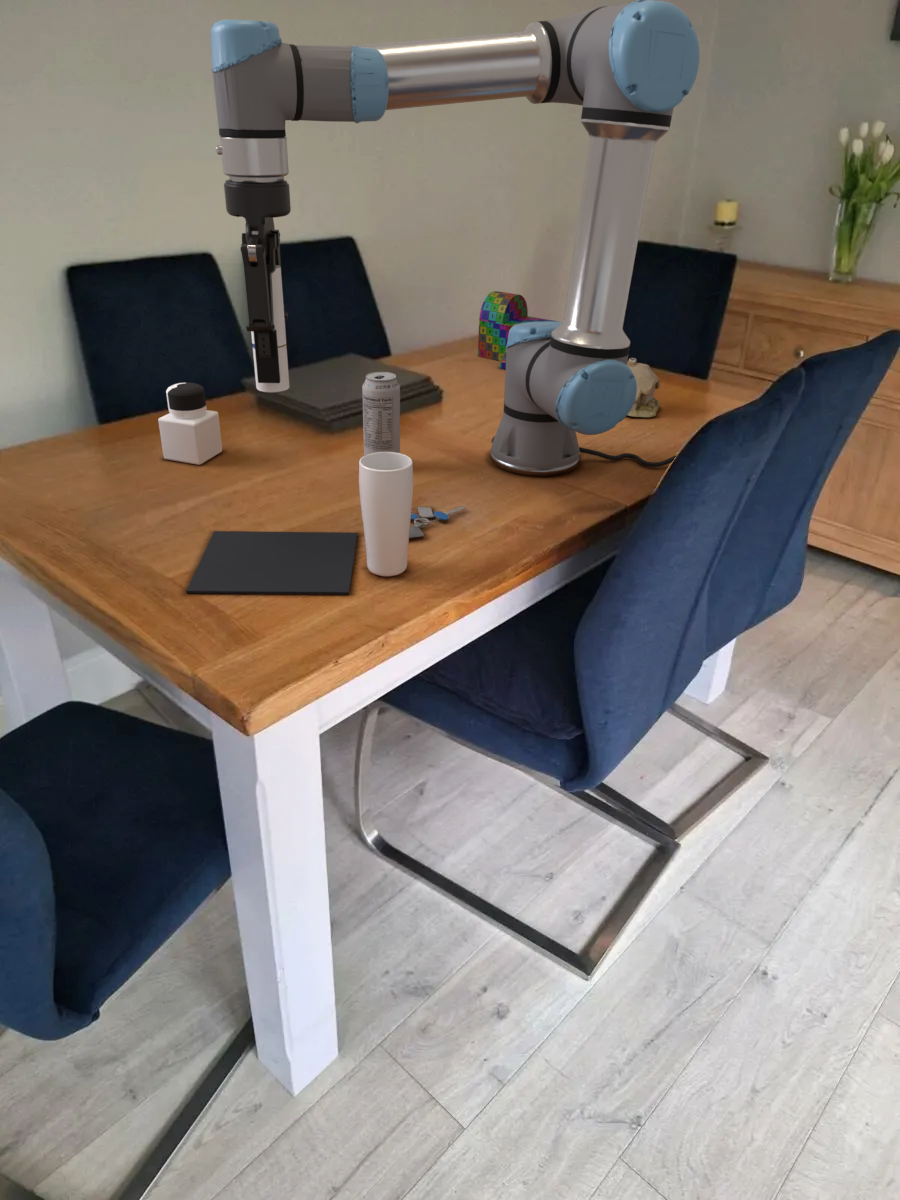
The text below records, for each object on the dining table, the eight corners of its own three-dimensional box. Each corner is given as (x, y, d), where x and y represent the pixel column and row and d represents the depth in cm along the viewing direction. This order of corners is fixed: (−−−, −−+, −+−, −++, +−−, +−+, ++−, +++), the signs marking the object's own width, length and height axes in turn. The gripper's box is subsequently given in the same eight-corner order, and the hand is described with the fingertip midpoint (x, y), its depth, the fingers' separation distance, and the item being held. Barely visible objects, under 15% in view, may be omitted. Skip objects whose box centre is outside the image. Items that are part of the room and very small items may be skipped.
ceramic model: (668, 407, 178) (676, 358, 173) (648, 422, 170) (655, 370, 165) (604, 395, 185) (610, 347, 180) (582, 408, 176) (587, 358, 171)
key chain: (414, 544, 121) (414, 539, 121) (366, 529, 125) (366, 524, 124) (466, 510, 131) (466, 505, 131) (420, 497, 135) (420, 492, 135)
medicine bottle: (223, 451, 150) (215, 382, 144) (200, 465, 144) (191, 394, 138) (187, 445, 152) (178, 377, 146) (163, 459, 146) (152, 388, 140)
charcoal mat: (357, 535, 123) (357, 532, 123) (349, 595, 109) (349, 592, 109) (214, 533, 123) (214, 530, 122) (186, 593, 108) (186, 590, 108)
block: (465, 361, 205) (467, 298, 198) (503, 347, 217) (506, 287, 210) (559, 380, 193) (564, 314, 186) (593, 364, 205) (600, 302, 198)
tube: (293, 383, 116) (284, 264, 109) (284, 393, 113) (275, 270, 105) (261, 381, 117) (251, 263, 109) (252, 391, 113) (240, 269, 106)
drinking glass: (361, 557, 118) (358, 451, 110) (411, 556, 118) (412, 450, 111) (361, 581, 112) (358, 471, 104) (414, 580, 112) (414, 470, 105)
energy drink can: (406, 462, 148) (406, 374, 141) (389, 473, 143) (388, 383, 136) (375, 455, 150) (373, 368, 143) (357, 467, 146) (355, 377, 138)
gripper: (238, 171, 110) (255, 358, 121) (207, 184, 95) (230, 396, 106) (298, 173, 110) (309, 359, 122) (277, 186, 95) (292, 397, 107)
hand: (272, 376), depth 114 cm, fingers closed on tube, 4 cm apart
